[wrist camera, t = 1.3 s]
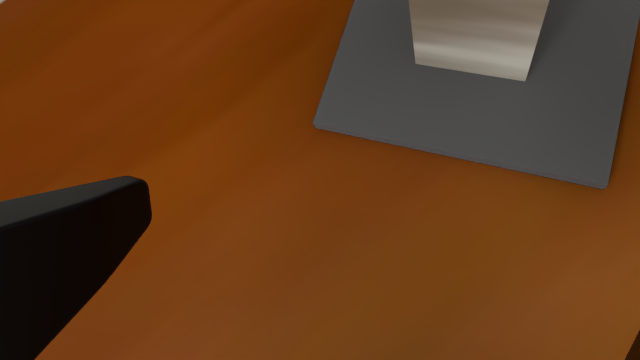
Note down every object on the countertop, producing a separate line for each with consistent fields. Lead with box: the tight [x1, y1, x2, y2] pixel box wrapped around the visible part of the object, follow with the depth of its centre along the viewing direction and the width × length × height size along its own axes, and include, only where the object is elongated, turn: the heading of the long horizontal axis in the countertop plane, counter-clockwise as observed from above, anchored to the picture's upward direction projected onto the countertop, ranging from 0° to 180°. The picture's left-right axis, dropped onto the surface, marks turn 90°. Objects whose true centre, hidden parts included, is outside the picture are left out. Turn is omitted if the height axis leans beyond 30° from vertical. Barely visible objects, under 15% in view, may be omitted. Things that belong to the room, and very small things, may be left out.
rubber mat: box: [313, 0, 640, 189], centre depth 24 cm, size 13×13×1 cm
